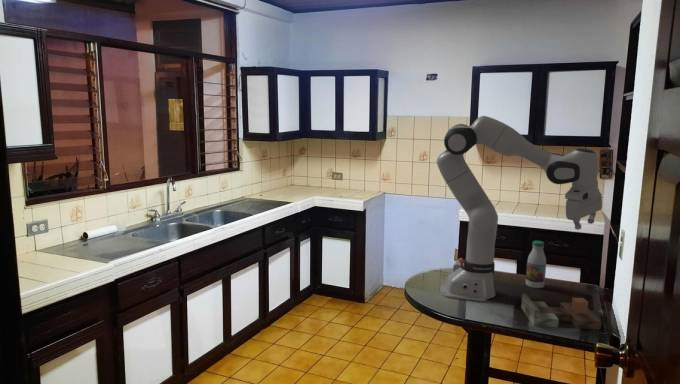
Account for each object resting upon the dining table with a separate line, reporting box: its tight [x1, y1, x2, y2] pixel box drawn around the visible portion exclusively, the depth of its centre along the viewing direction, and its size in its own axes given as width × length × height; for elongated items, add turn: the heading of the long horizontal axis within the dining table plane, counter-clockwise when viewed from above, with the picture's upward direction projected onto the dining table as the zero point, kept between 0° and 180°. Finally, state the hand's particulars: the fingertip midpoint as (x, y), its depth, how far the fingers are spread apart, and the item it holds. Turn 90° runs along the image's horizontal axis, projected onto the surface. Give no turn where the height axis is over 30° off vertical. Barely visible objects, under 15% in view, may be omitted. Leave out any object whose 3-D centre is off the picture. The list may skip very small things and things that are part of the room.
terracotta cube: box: [571, 297, 589, 314], centre depth 178 cm, size 4×4×4 cm
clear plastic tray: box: [520, 293, 602, 330], centre depth 179 cm, size 23×16×6 cm
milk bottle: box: [525, 240, 547, 289], centre depth 211 cm, size 8×8×20 cm
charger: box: [452, 259, 461, 272], centre depth 232 cm, size 5×9×15 cm
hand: (584, 226), depth 186 cm, fingers open, 8 cm apart
